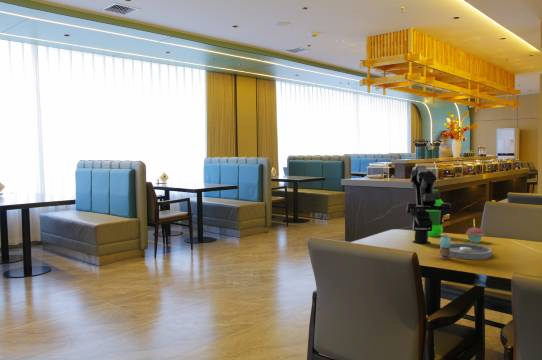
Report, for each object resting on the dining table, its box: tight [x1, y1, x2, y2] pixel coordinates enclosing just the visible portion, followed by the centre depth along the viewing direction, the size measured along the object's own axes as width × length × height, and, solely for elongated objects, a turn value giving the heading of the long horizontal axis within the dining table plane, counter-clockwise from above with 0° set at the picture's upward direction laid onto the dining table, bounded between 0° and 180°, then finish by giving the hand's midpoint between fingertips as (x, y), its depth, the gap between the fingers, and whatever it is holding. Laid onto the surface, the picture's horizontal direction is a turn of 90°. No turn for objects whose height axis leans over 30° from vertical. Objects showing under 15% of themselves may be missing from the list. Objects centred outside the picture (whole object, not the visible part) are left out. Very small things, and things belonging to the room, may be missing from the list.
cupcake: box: [465, 218, 485, 244], centre depth 230 cm, size 9×8×12 cm
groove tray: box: [439, 242, 493, 260], centre depth 204 cm, size 21×21×2 cm
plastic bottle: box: [426, 188, 444, 238], centre depth 245 cm, size 10×10×25 cm
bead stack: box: [438, 233, 452, 261], centre depth 195 cm, size 5×5×11 cm
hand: (429, 224), depth 202 cm, fingers open, 9 cm apart
